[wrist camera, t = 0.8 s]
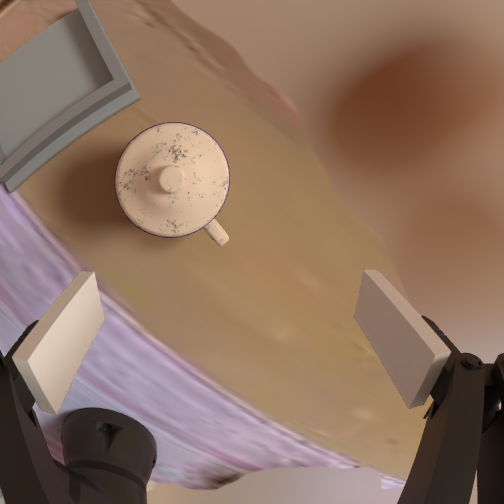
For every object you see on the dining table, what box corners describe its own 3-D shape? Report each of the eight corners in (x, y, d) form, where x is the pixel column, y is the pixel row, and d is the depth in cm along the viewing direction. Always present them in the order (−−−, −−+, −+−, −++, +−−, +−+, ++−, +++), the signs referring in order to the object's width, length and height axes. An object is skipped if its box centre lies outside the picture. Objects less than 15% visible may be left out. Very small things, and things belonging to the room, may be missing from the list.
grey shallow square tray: (12, 192, 25) (-1, 194, 22) (-25, 91, 20) (-38, 86, 17) (140, 99, 27) (137, 90, 24) (90, 4, 22) (85, -9, 19)
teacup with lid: (112, 176, 29) (80, 175, 18) (179, 120, 29) (184, 88, 18) (184, 260, 33) (192, 301, 22) (248, 205, 33) (287, 219, 22)
